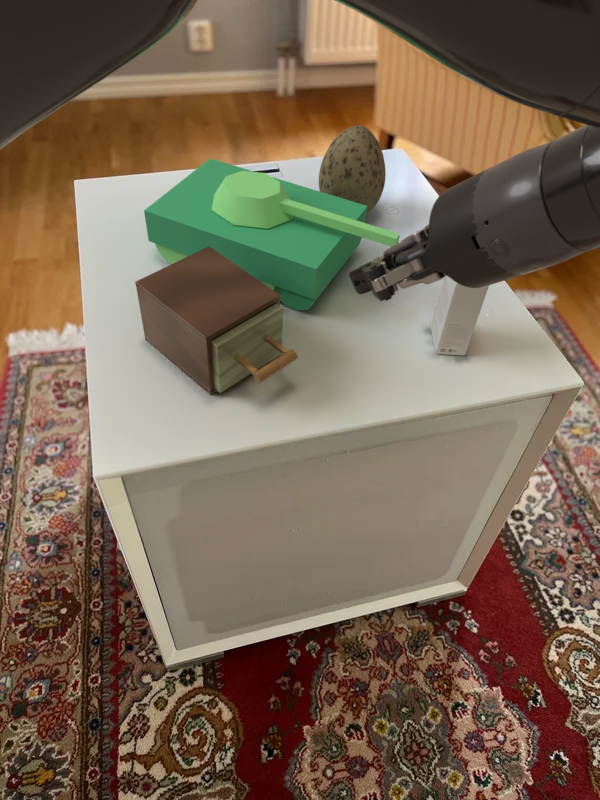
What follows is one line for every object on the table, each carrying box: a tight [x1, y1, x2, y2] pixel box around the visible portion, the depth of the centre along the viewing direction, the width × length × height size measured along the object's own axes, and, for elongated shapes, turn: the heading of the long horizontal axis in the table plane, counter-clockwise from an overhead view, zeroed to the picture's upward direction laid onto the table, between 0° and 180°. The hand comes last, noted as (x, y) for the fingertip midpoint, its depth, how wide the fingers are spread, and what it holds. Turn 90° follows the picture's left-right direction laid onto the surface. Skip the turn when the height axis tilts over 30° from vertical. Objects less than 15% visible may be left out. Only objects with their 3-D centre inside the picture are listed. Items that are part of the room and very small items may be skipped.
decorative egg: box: [318, 124, 387, 214], centre depth 103 cm, size 11×11×15 cm
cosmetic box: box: [430, 276, 490, 356], centre depth 83 cm, size 6×4×12 cm
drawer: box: [211, 303, 299, 394], centre depth 79 cm, size 17×10×8 cm, turn 45°
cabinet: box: [134, 246, 281, 396], centre depth 81 cm, size 14×12×10 cm
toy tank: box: [143, 157, 401, 312], centre depth 93 cm, size 18×12×35 cm
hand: (358, 281), depth 57 cm, fingers closed
